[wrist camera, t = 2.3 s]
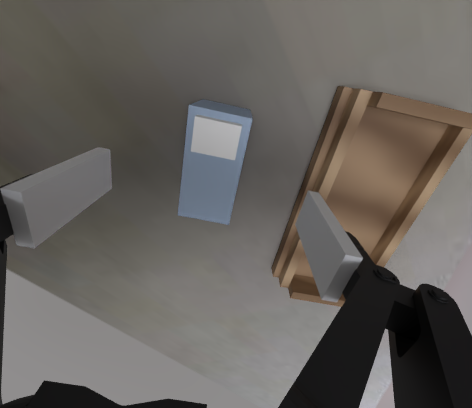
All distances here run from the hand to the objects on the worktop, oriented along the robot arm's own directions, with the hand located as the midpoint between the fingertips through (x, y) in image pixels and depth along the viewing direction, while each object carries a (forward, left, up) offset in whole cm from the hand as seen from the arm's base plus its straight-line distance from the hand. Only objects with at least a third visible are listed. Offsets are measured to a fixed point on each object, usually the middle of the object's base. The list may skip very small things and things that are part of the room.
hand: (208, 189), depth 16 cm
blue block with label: (0, 0, -10) cm, 10 cm away
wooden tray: (+15, -3, -9) cm, 18 cm away
